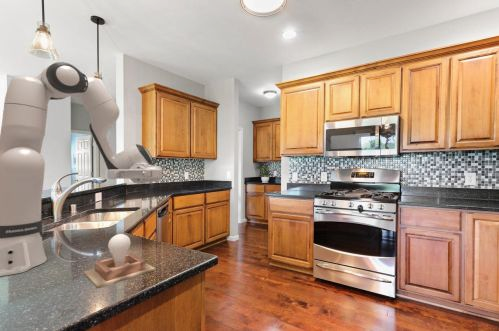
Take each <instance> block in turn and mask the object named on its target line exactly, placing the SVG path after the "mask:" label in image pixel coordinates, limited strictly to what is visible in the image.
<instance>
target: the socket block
mask: <svg viewBox="0 0 499 331" xmlns="http://www.w3.org/2000/svg"><path fill="white" fill-rule="evenodd" d="M154 271H155V272H156V267H154V266H152V265H151V264H149V263H147V262H146V261H145V259H142V258H140V257H139V256H137V255H135V254H133V253H126V257H125V261H124V266H120V267H116V268H115V262H114V258H113V257H111V258H106V259H103V260H98V261H94V268H92V269H91V268H90V269H88V270H85V271H83V274H84V275H85V277H87V279H88V280H89V281H90V282H91V283H92V284H93V285H94V286H95V287H96V289H100V288H102V287H107V286H108V285H112V284H116V283H119V282H123V281H125V280H128V279H131V278H132V279H133V278H135V277H139V276H142V275H144V274H148V273H152V272H154Z"/></svg>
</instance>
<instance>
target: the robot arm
mask: <svg viewBox="0 0 499 331" xmlns="http://www.w3.org/2000/svg"><path fill="white" fill-rule="evenodd" d="M68 97H74V98H76V99H78V100H79V101H80V102H81V103H82V105H83V106H84V108H85V110H86V111H87V112H88V114H89V116H90V124H89V125H88V127H89V130H90V133H91V134H90V135H91V136H92V138H93V140H94V143H95V144H96V146H97V148H98V151H99V152H100V154H101V156H102V159H103V161H104V163H105V166H106V169H107V179H109V180H110V179H112V180H116V179H117V180H121V179H123V180H125V179H129V180H130V181H131V182H132V183H134V184H136V185H137V184H138V185H142V184H147V183H151V182H160V181H162V180H163V179H162V178H163V168H162V166H160V165H153V164H154V163H153V162H154V161H153V160H154V159H153V156H152V155H151V153H150V151H149V150H148V149H147V148H146V147H145V146H143V145H141V144H135V145H133V146H130V147H128V148H126V149H125V150H122V151H120V152H118V153H114V151H113V150H112V148H111V145H110V143H109V141H108V140H107V133H108V131H109V130H110V128H112V126H113V125H115V124H116V122H117V121H118V118H119V116H120V109H119V106H118V104H117V102H116V101H115V99H114V97H113V96H112V94H111V93H110V92H109V90H108V89H107V88H106V87H105V85H104V84H103V83H102V82H101V80H99V79H98V78H96V77H94V76H86V74H84V73H83V72H82V71H80V69H78V68H77V67H76V66H75V65H73V64H71V63H69V62H65V61H58V62H53V63H51V64H50V65H49V66H48V67H45V69H43V70H42V71H41V73H40V74H39V75H38V76H37V77H33V76H30V75H22V74H21V75H17V76H14V77H12V78H11V80H10V81H9V84H8V87H7V90H6V93H5V97H4V102H3V103H4V104H3V110H2V117H1V118H2V120H1V127H0V277H4V276H10V275H15V274H20V273H24V272H27V271H29V270H30V269H32V268H35V267H37V266H40V265H42V264H43V263H46V262H47V260H48V258H47V256H46V253H45V252H46V251H45V248H44V243H43V235H44V221H43V220H42V195H43V189H44V180H45V179H44V178H45V167H46V166H45V165H46V163H45V162H46V161H45V158H44V157H43V155H41V152H42V147H43V142H44V139H45V134H46V127H47V126H46V125H47V120H48V117H47V116H48V104H49V103H50V102H49V101H51V100H54V101H55V100H56V101H57V100H64V99H66V98H68Z"/></svg>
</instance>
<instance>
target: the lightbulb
mask: <svg viewBox="0 0 499 331" xmlns="http://www.w3.org/2000/svg"><path fill="white" fill-rule="evenodd" d="M107 246H108V250H109V252H110V254H111V255H112V258H114V262H115V268H116V267H120V266H124V261H125V257H126V255H127V254H128V251H129V249H130V246H131V239H130V237H129V236H128V235H126V234H124V233H118V234H116V235H114V236H112V237H111V238H110V240H109V241H108V244H107Z"/></svg>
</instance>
